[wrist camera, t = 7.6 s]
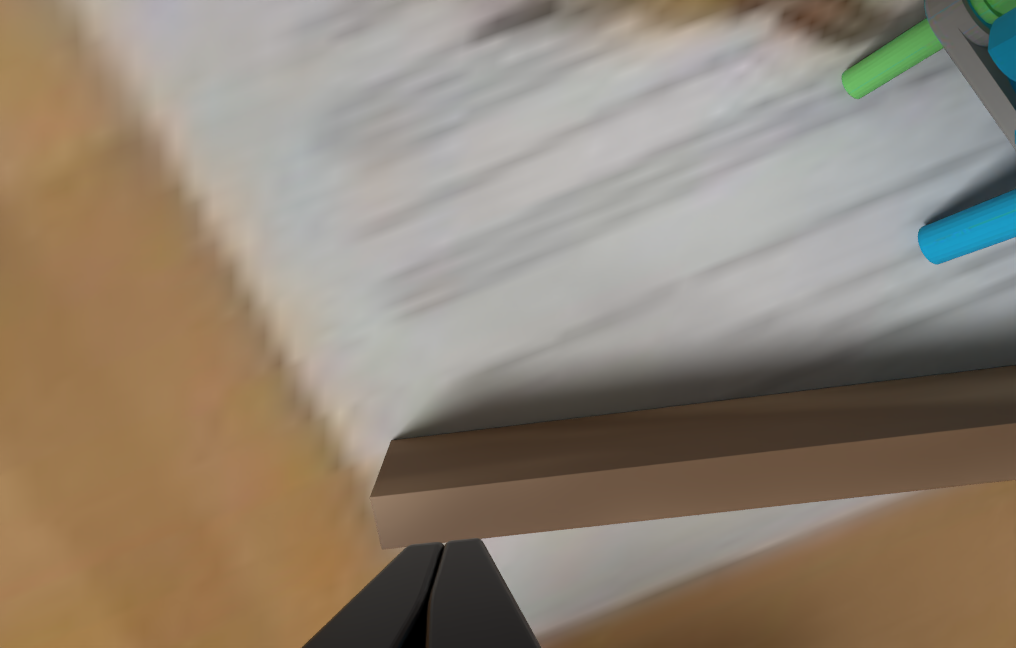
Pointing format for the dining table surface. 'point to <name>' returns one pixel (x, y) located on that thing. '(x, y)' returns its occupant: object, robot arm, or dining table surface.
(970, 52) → the gear
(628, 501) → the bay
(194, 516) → the dining table surface
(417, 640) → the robot arm
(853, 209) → the dining table surface
